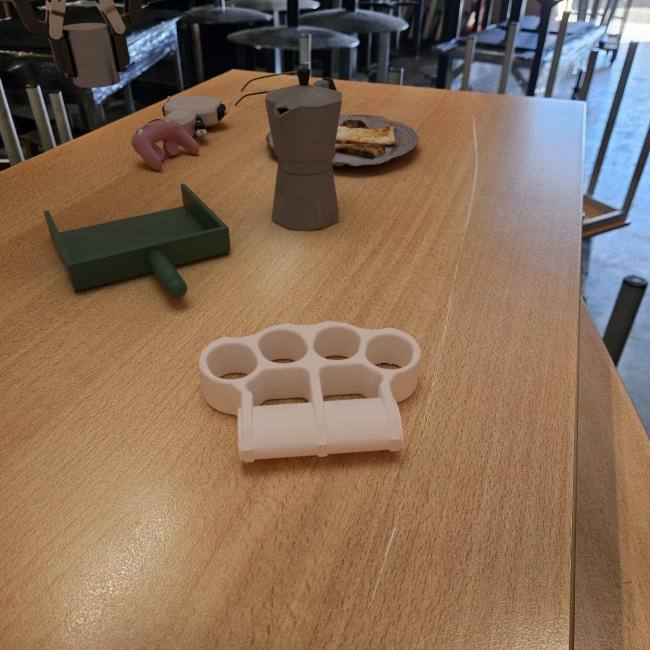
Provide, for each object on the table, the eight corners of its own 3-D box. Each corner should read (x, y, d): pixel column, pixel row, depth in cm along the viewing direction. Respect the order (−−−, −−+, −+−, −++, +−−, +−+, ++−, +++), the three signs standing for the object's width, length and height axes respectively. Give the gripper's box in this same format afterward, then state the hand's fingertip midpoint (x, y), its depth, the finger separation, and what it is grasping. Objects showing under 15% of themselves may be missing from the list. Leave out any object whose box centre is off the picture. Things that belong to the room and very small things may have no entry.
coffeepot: (318, 244, 68) (318, 85, 58) (249, 229, 71) (237, 76, 61) (362, 196, 80) (369, 56, 69) (301, 185, 83) (299, 50, 72)
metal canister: (80, 90, 60) (66, 31, 57) (70, 80, 63) (56, 25, 60) (125, 84, 62) (114, 27, 59) (114, 75, 65) (103, 21, 62)
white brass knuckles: (194, 476, 40) (207, 348, 52) (444, 457, 42) (401, 336, 54) (188, 443, 38) (202, 317, 50) (451, 424, 40) (405, 307, 52)
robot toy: (209, 152, 96) (235, 119, 108) (206, 125, 93) (232, 94, 105) (141, 147, 98) (173, 115, 109) (135, 120, 95) (169, 91, 106)
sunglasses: (307, 108, 115) (305, 82, 112) (234, 113, 116) (230, 88, 113) (308, 90, 127) (306, 66, 124) (242, 95, 127) (238, 71, 124)
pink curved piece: (186, 159, 95) (166, 117, 93) (204, 151, 92) (184, 108, 90) (143, 178, 88) (120, 134, 86) (160, 170, 86) (137, 124, 83)
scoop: (51, 237, 69) (43, 211, 67) (188, 208, 76) (184, 183, 74) (94, 335, 53) (85, 304, 51) (261, 287, 60) (259, 257, 58)
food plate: (244, 163, 90) (242, 140, 88) (297, 121, 108) (296, 102, 106) (399, 184, 84) (401, 160, 82) (428, 136, 101) (431, 116, 99)
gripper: (119, -123, 58) (150, 60, 68) (-40, -127, 52) (19, 75, 62) (141, -126, 52) (171, 72, 62) (-33, -131, 46) (30, 90, 56)
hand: (95, 73), depth 62 cm, fingers closed on metal canister, 4 cm apart
